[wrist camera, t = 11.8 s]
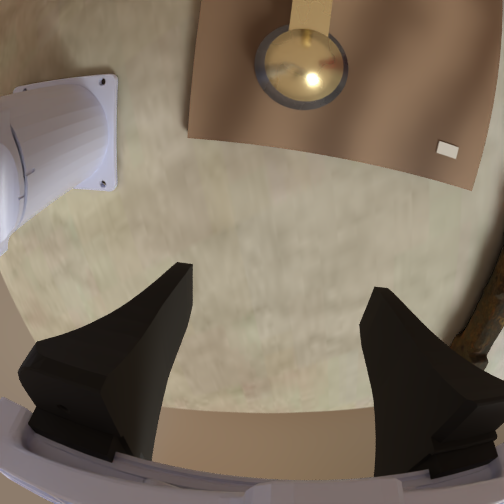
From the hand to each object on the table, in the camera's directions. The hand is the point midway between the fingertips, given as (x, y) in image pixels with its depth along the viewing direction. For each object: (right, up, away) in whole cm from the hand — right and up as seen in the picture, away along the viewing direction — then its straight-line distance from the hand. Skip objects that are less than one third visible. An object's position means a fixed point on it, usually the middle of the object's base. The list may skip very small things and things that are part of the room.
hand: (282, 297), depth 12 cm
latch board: (+5, +15, +2) cm, 16 cm away
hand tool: (+21, -3, +12) cm, 24 cm away
